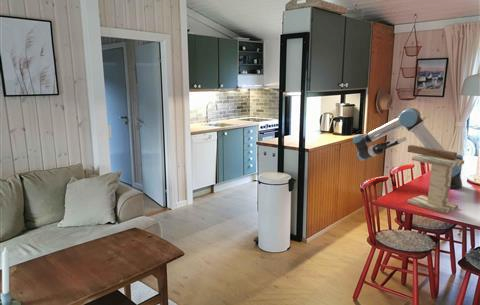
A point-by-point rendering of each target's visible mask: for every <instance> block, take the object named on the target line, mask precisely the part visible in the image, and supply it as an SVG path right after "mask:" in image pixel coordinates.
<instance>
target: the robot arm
mask: <svg viewBox="0 0 480 305" xmlns="http://www.w3.org/2000/svg"><path fill="white" fill-rule="evenodd" d="M424 123H425V121H424V119H423V118H422V117H421V112H420V111H419V109H417V108H411V107H410V108H407V109H404V110H403V111H401V113H400V114H399V115H398V117H397V118H394V119H392V120H391V121H388V122H387V123H384V124H383V125H381V126H379V127H377V128H376V129H373V130H372V131H370V132H367V133H365V134H358V135H356V136H353V137H352V141H353V144H354V145H355V147H356V149H357V151H358V152H357V158H358V160H359V161H363V162H364V161H366V160H368V159H370V158H374V157H376V156H378V155H381V154H383V153H384V150H387V149H389V148H392V147H395V146H398V145H401V143H404V142H407V141H408V140H407V138H406V136H404V137H401V138H398V139H396V140H395V138H391V139H388V140H387V141H385V142H381V143H375V144H374V145H371V146H368V145H369V144H371V143H373V142H374V141H376V140H379V139H381V138H382V137H384V136H387V135H389V134H391V133H393V132H395V131H396V130H399V129H401V128H403V127H404V128H405V129H406V130H407V131H408V132H410V133H413V134H414V136H415V137H416V139H417V140H418V141H419V142H420V143H421V144H422V147H427V148H432V149H438V150H444V151H446V149H444V147H443V146H442V145H441V144H440V143H439V141H438V140H437V139H436V137H434V135H433V134H432V133H431V131H430V130H428V128H427V127H426V125H425V124H424ZM463 156H464V155H462V154H458V153H457V158H456V159H459V160H464V157H463ZM462 167H463V164H462V165H458V166H454V167H453V169H452V176H451V184H450V189H451V190H453V189H455V190H458V189H462V187H463V180H462V178H461V174H462Z"/></svg>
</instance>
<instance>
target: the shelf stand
mask: <svg viewBox="0 0 480 305" xmlns="http://www.w3.org/2000/svg"><path fill="white" fill-rule="evenodd" d="M411 158H412V159H411V161H413V162H414V161H415V162H419V163H424V164H429V165H431V166H430V167H431V169H430V174H429V175H430V177H429V186H428V195H425V194H420V195H418V196H415V197H411V198H408V199H407V204H410V205H413V206H417V207H419V208H422V209H423V208H424V209H426V210H429V211H432V212H433V211H434V212H436V213H439V214H442V215H444V214H447V213H449V212H452V211H455V210H457V209H459V204H456V203H453V202H449V197H450V190H451V188H450V184H451V176H452V169H453V167H454V166H458V165H462V166H463V165H464V164H465V160H464V159H463V160H459V159H456V160H448V159H443V158H438V157H432V156H427V155H422V154H418V155H415V156H412V157H411Z"/></svg>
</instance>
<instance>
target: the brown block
mask: <svg viewBox="0 0 480 305" xmlns="http://www.w3.org/2000/svg"><path fill="white" fill-rule="evenodd" d="M444 150H445V149H444ZM444 150H438V149H432V148H427V147H424V146H419V145H415V144H414V145H412V144H410V145H407V150H406V152H408V153H411V154H418V155H427V156H432V157H438V158H443V159H448V160H456V158H457V154H458V152H455V151H449V150H445V151H444Z"/></svg>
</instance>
